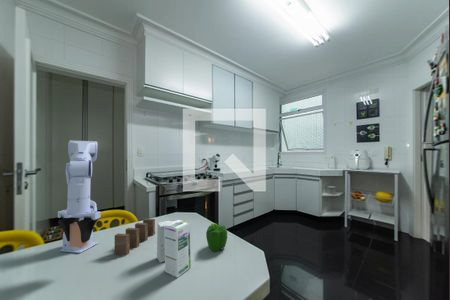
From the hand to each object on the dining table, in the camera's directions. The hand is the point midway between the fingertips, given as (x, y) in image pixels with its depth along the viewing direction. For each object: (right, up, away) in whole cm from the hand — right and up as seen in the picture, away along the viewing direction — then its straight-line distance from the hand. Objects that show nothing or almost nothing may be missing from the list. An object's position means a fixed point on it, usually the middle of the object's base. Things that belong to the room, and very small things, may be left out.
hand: (78, 240), depth 56 cm
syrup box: (+32, -9, -1) cm, 33 cm away
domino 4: (+11, -10, +20) cm, 25 cm away
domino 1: (0, -2, 0) cm, 2 cm away
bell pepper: (+44, -9, +12) cm, 46 cm away
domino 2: (+9, -10, +9) cm, 16 cm away
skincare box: (+26, -9, +6) cm, 29 cm away
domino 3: (+10, -10, +15) cm, 20 cm away
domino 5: (+12, -10, +25) cm, 30 cm away
